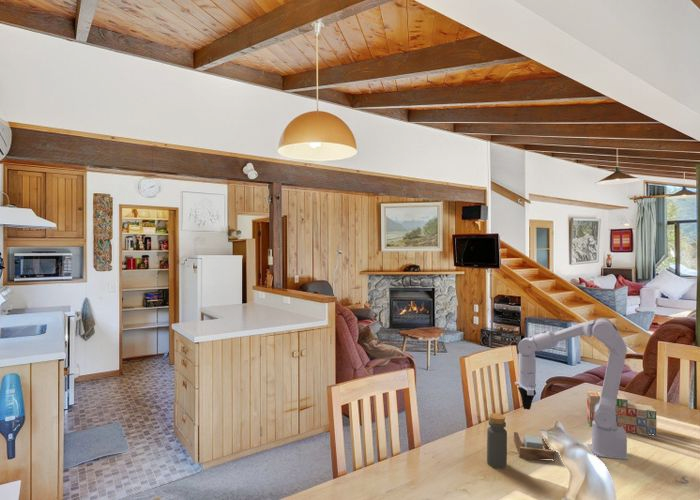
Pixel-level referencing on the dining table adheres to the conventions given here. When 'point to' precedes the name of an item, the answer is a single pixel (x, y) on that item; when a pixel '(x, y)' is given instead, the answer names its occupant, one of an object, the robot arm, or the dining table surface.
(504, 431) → the bottle
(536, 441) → the block
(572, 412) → the dining table surface
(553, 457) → the holder
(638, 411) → the stack of blocks
